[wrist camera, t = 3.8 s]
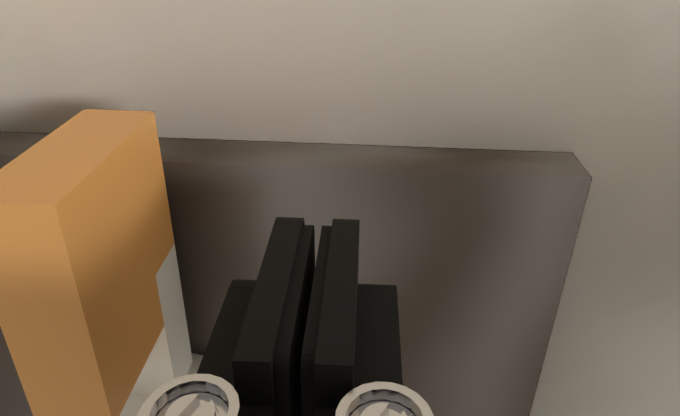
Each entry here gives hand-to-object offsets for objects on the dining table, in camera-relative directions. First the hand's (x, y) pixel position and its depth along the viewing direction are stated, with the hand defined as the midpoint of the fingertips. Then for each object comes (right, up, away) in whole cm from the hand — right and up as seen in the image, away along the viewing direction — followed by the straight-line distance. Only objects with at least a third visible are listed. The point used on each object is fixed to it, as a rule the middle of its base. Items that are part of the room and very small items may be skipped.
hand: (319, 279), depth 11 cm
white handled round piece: (-5, -4, +6) cm, 8 cm away
